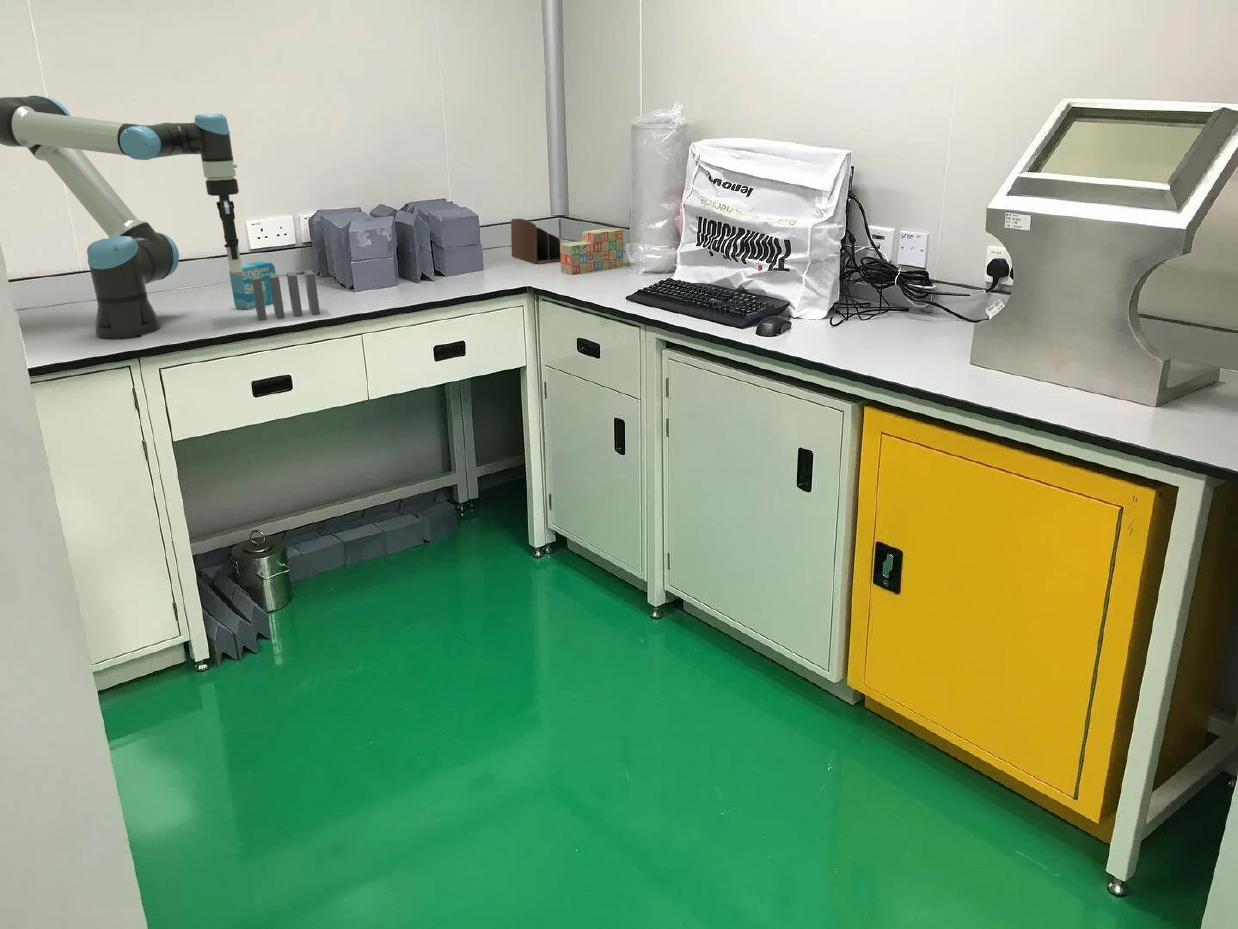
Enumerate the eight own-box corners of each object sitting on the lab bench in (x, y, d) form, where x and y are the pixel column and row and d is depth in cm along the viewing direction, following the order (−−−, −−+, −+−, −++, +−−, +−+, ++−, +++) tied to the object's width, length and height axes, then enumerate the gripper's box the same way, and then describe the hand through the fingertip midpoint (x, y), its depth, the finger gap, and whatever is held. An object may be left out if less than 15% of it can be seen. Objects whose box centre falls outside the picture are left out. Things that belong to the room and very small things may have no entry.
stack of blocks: (572, 275, 315) (570, 236, 310) (560, 272, 320) (559, 234, 315) (623, 266, 327) (623, 229, 323) (612, 264, 332) (611, 227, 327)
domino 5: (312, 315, 266) (307, 274, 262) (309, 310, 272) (304, 270, 268) (320, 314, 267) (314, 273, 263) (317, 310, 272) (311, 270, 268)
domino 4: (294, 317, 265) (289, 276, 261) (292, 312, 270) (286, 272, 266) (302, 316, 266) (296, 275, 261) (299, 311, 271) (294, 271, 267)
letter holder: (536, 265, 333) (533, 222, 328) (511, 257, 349) (509, 216, 344) (562, 262, 338) (560, 220, 333) (536, 254, 354) (534, 214, 349)
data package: (245, 311, 274) (238, 268, 270) (235, 309, 277) (227, 267, 272) (280, 303, 284) (274, 261, 279) (270, 301, 286) (263, 260, 281)
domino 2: (259, 320, 261) (252, 279, 257) (257, 316, 267) (250, 275, 262) (266, 319, 262) (260, 278, 258) (264, 315, 267) (258, 274, 263)
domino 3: (277, 318, 263) (270, 277, 259) (274, 314, 268) (268, 274, 264) (284, 318, 264) (278, 277, 260) (282, 313, 269) (276, 273, 265)
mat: (213, 330, 254) (213, 329, 254) (211, 320, 264) (211, 319, 264) (332, 317, 265) (332, 316, 265) (325, 309, 275) (325, 307, 275)
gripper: (239, 180, 242) (254, 274, 251) (234, 174, 259) (248, 262, 267) (206, 182, 240) (222, 277, 248) (203, 176, 256) (218, 265, 264)
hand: (236, 269), depth 258 cm, fingers closed on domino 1, 6 cm apart
